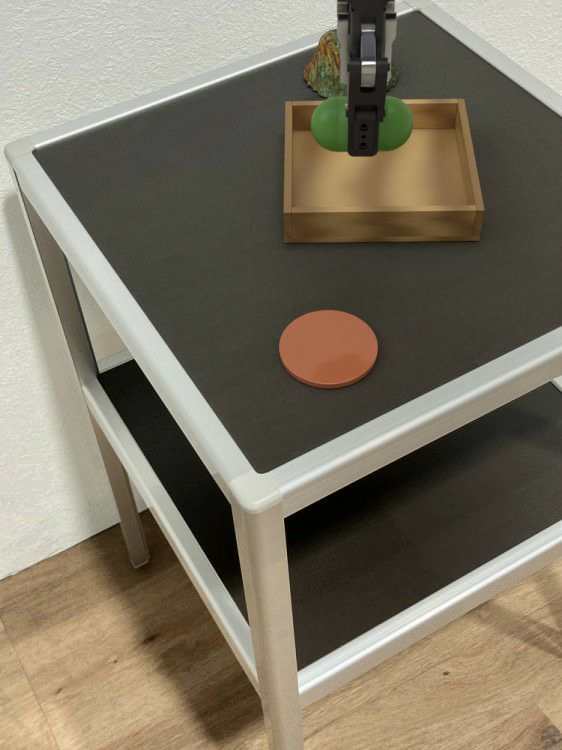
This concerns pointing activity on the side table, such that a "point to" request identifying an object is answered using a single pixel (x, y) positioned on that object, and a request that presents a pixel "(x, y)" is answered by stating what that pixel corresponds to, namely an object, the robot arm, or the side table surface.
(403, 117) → the cucumber
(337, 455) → the side table surface
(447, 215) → the wooden tray
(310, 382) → the plate
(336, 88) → the seashell
